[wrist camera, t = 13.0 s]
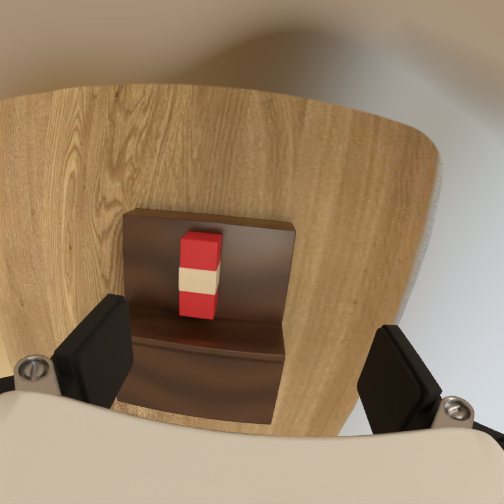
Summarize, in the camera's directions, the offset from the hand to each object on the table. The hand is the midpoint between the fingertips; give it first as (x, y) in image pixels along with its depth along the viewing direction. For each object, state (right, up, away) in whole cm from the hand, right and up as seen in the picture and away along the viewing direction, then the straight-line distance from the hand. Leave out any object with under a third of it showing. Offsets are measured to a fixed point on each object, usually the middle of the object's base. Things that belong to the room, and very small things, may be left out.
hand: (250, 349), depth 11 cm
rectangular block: (-5, +2, +21) cm, 22 cm away
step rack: (-6, -2, +27) cm, 27 cm away
